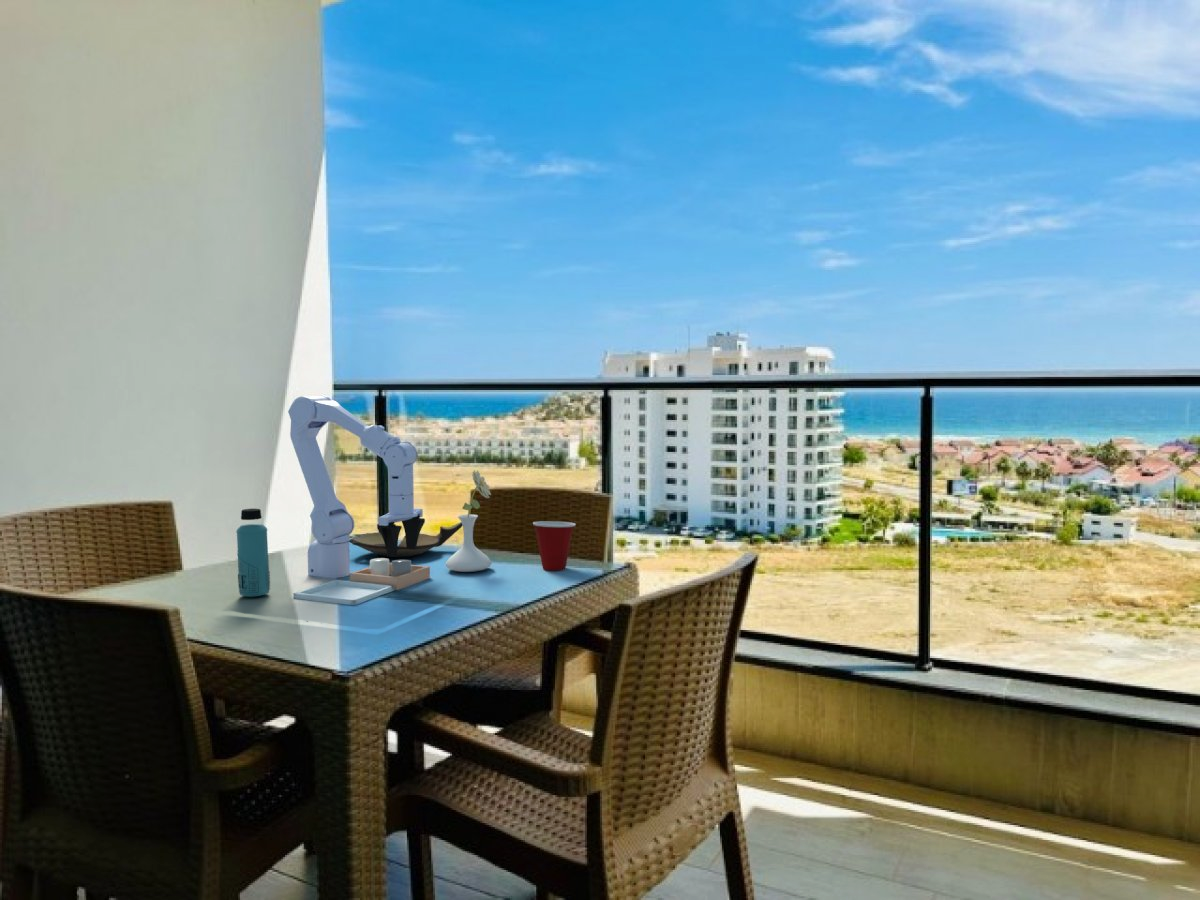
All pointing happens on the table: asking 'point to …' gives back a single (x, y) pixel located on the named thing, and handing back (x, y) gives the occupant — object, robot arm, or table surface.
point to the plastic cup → (554, 543)
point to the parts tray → (344, 592)
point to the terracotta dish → (398, 582)
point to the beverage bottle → (253, 556)
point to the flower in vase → (470, 536)
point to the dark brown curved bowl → (404, 542)
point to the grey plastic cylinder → (400, 567)
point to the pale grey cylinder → (379, 566)
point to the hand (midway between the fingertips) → (401, 551)
